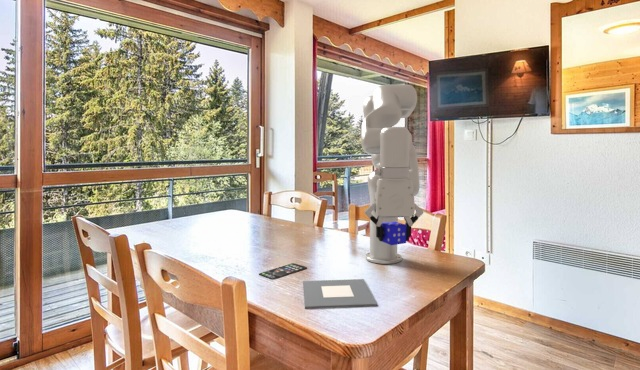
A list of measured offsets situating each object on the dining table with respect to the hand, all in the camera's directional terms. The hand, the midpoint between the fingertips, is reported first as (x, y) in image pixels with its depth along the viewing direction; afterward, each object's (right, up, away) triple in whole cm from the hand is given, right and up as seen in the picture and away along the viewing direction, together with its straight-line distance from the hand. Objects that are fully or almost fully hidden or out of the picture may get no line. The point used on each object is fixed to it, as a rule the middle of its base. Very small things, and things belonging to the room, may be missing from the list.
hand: (393, 239), depth 103 cm
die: (0, -1, 0) cm, 1 cm away
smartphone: (-32, -14, +19) cm, 39 cm away
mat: (-15, -15, 0) cm, 21 cm away
